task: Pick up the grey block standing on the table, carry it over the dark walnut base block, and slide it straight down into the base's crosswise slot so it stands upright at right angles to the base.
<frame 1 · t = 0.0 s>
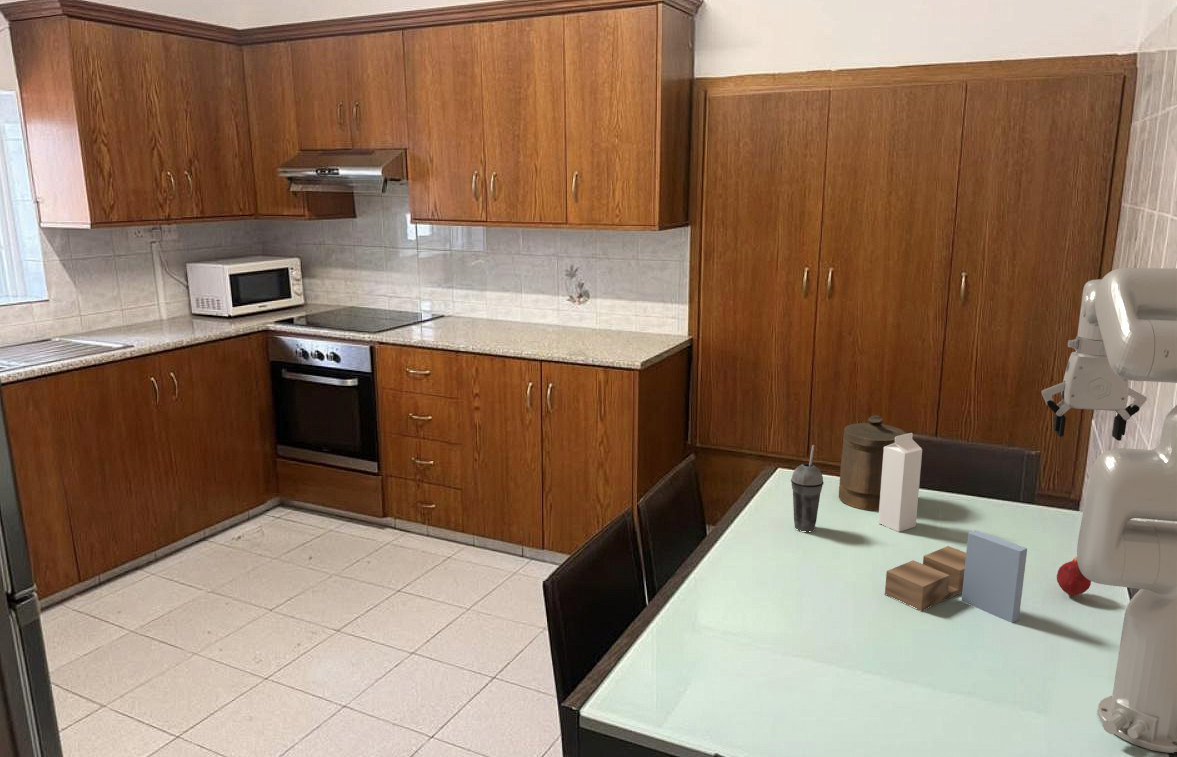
hand: (1087, 436, 161), 31 cm above the table, tool pointing down, fingers open, 9 cm apart
milk: (896, 525, 199), on the table
grey block: (989, 609, 160), on the table
slotted base: (934, 588, 169), on the table
beverage cup: (804, 529, 198), on the table
red pomegranate: (1071, 596, 165), on the table
wooden container: (869, 500, 215), on the table
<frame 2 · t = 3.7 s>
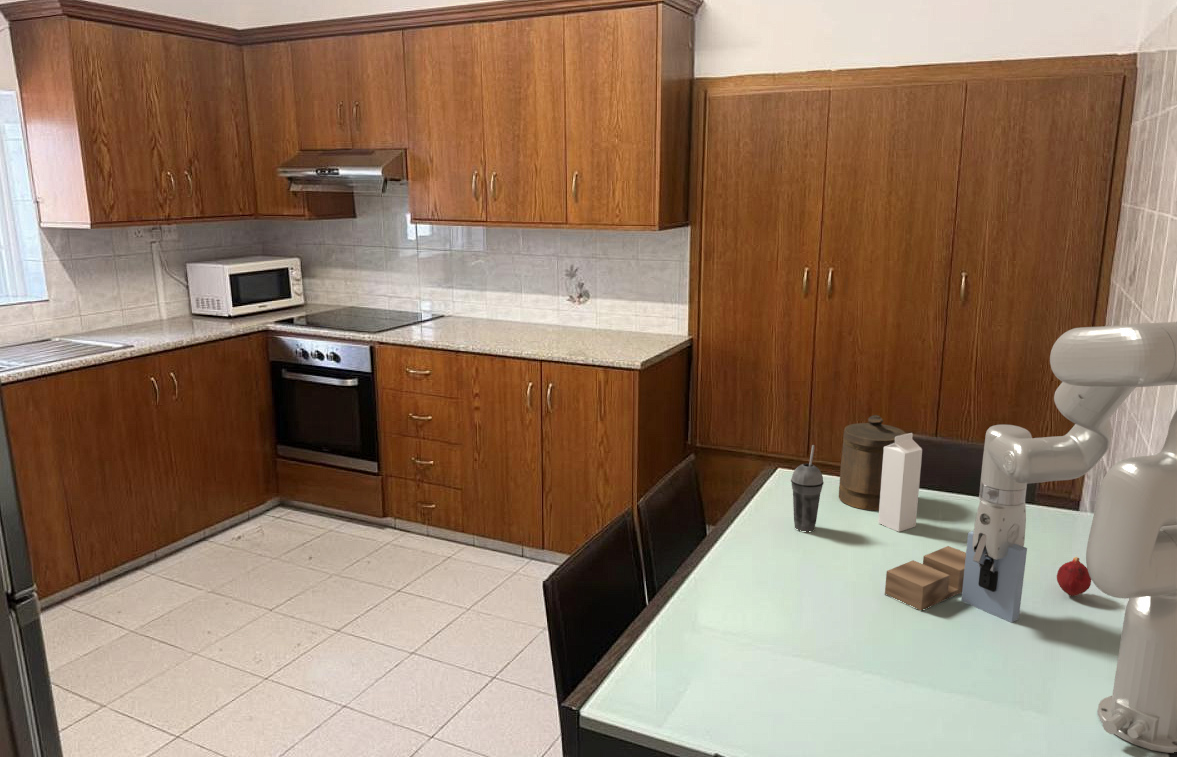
hand: (992, 585, 159), 5 cm above the table, tool pointing down, fingers closed on grey block, 2 cm apart
grey block: (989, 609, 160), on the table, touching gripper
everything else where it was.
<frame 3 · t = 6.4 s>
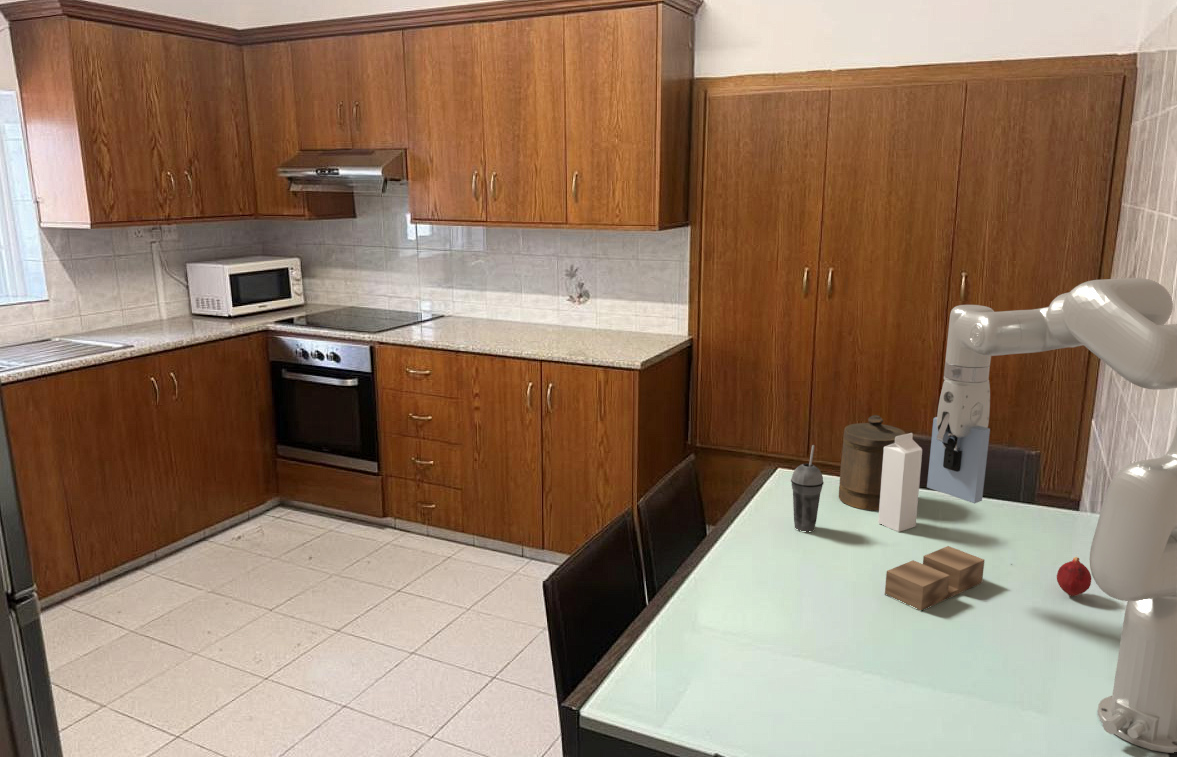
hand: (956, 467, 161), 26 cm above the table, tool pointing down, fingers closed on grey block, 2 cm apart
grey block: (953, 493, 162), point 20 cm above the table, touching gripper
everything else where it was.
when the fingers open (7 cm above the table, at t = 9.4 s): grey block stays where it is, resting on slotted base.
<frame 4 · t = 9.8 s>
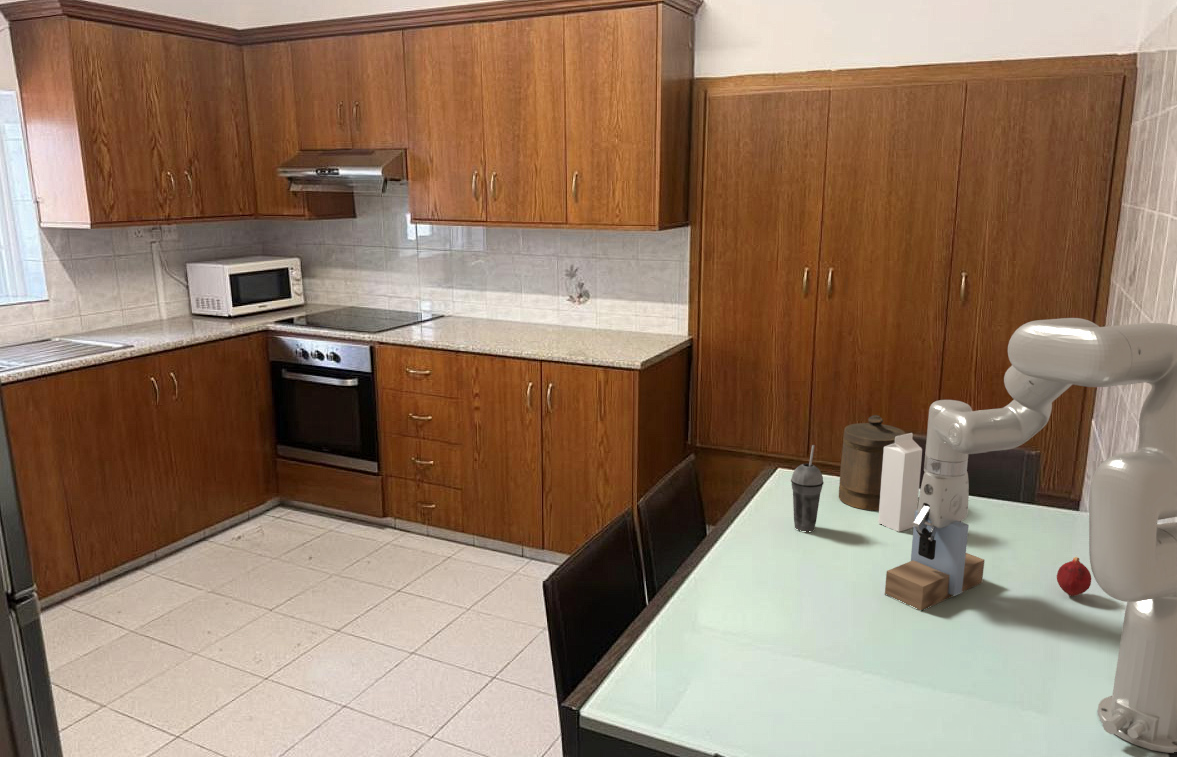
hand: (937, 551, 167), 8 cm above the table, tool pointing down, fingers open, 6 cm apart
grey block: (935, 584, 168), point 1 cm above the table, touching slotted base
everything else where it was.
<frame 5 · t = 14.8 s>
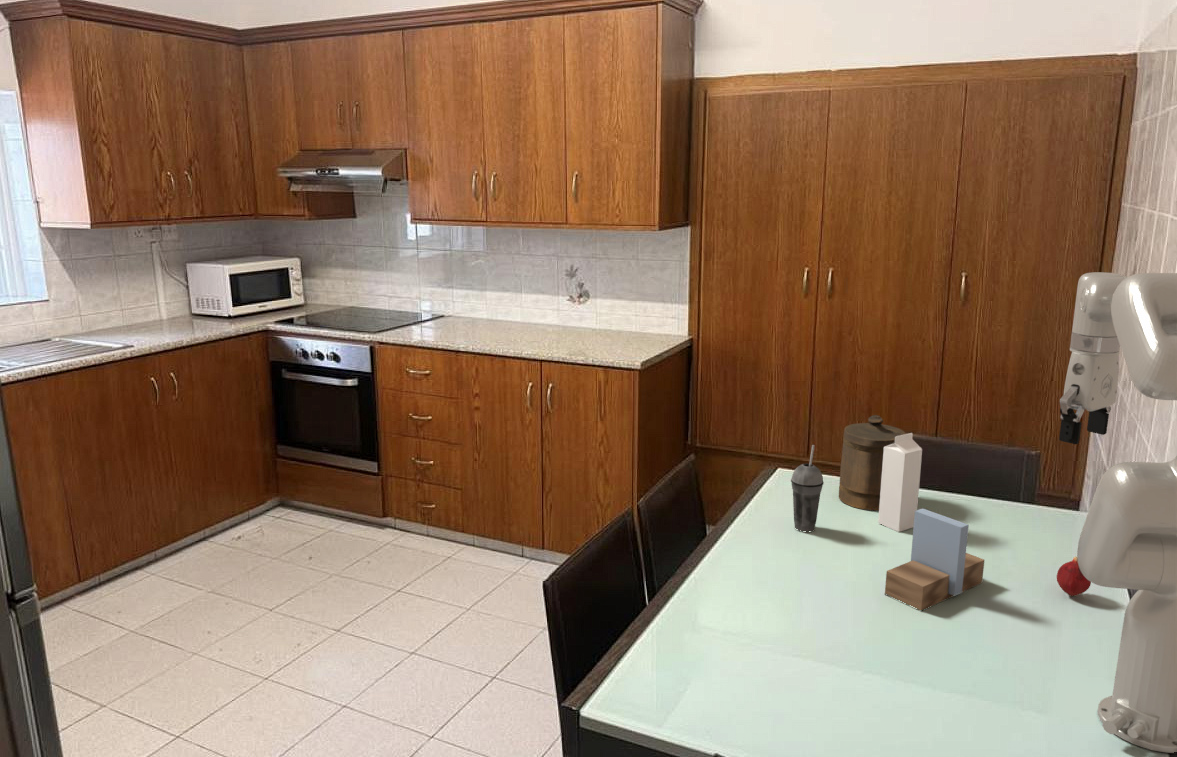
hand: (1082, 437, 154), 33 cm above the table, tool pointing down, fingers open, 9 cm apart
nothing on the table moved.
at the end: grey block 0.1 cm off-centre on the slotted base, point 1.0 cm above the slotted base's base; grey block tilted 0°; the gripper is holding nothing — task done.
